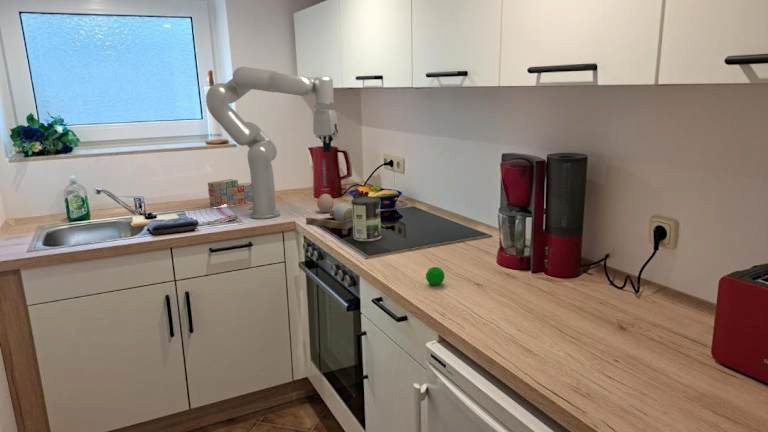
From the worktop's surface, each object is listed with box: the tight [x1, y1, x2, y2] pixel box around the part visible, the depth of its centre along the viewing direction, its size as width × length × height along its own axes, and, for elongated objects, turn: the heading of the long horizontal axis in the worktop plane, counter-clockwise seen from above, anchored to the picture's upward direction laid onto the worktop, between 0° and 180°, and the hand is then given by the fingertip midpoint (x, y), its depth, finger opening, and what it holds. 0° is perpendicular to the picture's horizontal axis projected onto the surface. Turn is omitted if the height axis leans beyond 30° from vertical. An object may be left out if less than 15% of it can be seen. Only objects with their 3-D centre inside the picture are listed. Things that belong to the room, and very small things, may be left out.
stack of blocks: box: [207, 178, 253, 208], centre depth 262 cm, size 21×6×12 cm, turn 134°
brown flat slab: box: [305, 209, 353, 230], centre depth 222 cm, size 20×16×3 cm
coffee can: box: [350, 196, 382, 242], centre depth 196 cm, size 10×10×14 cm
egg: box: [317, 193, 335, 214], centre depth 239 cm, size 7×7×8 cm
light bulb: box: [333, 202, 353, 222], centre depth 220 cm, size 11×8×8 cm
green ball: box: [425, 266, 445, 286], centre depth 149 cm, size 5×5×5 cm
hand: (327, 151), depth 229 cm, fingers closed
